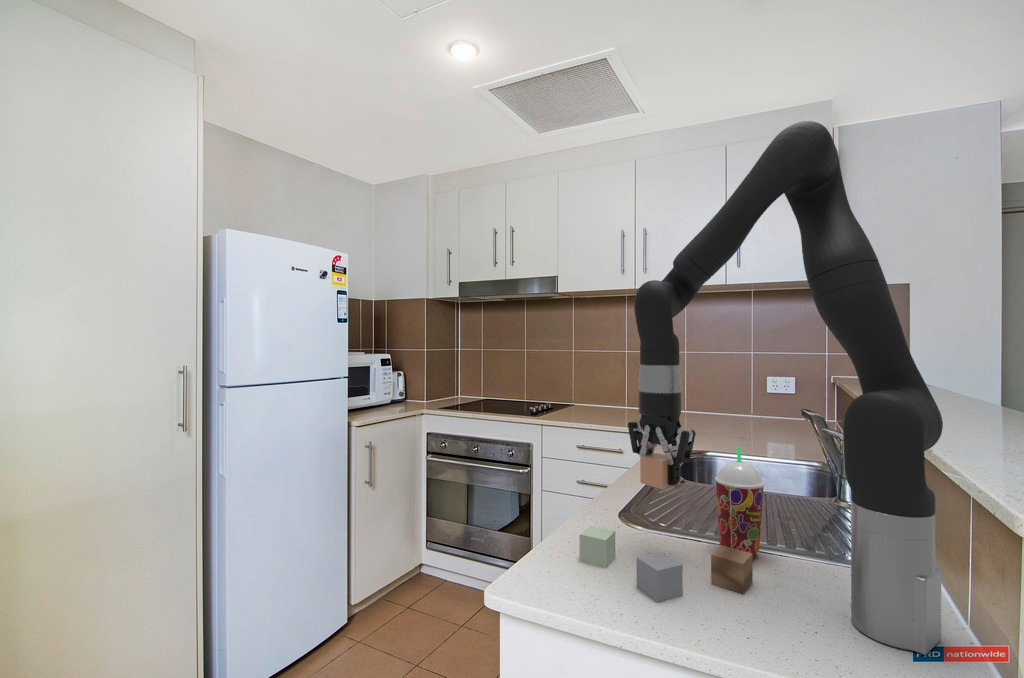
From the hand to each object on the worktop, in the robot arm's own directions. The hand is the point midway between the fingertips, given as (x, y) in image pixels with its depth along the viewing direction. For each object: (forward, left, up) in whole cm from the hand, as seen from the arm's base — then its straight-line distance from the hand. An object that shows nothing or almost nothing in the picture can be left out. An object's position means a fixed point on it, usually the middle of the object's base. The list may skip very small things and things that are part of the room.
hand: (660, 480), depth 91 cm
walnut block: (-13, -2, -14) cm, 19 cm away
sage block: (+6, +10, -14) cm, 18 cm away
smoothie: (-7, -14, -14) cm, 21 cm away
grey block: (-8, +10, -14) cm, 19 cm away
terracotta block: (0, 0, -1) cm, 1 cm away
